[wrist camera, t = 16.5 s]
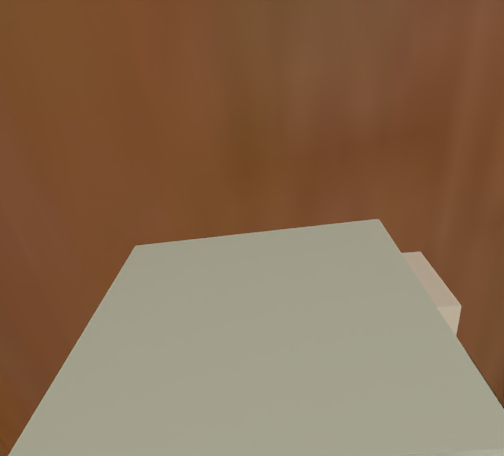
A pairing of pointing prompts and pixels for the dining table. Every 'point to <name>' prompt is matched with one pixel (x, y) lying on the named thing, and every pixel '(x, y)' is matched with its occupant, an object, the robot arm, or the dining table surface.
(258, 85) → the dining table surface
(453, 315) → the cream cube
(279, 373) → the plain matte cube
